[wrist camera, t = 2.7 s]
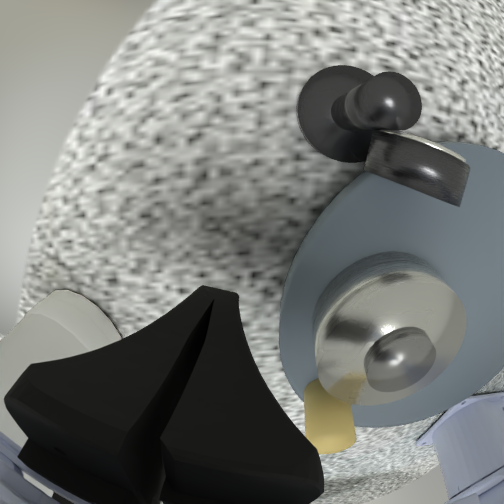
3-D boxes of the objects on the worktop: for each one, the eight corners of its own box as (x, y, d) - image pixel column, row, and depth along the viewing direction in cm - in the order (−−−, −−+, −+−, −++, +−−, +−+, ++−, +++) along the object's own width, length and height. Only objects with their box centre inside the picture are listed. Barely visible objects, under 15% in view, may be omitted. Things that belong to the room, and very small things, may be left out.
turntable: (564, 209, 9) (610, 236, 5) (456, 407, 17) (474, 451, 12) (334, 82, 10) (371, 48, 5) (248, 398, 17) (239, 464, 12)
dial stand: (412, 94, 10) (504, 78, 4) (394, 177, 12) (477, 220, 6) (306, 58, 10) (330, -9, 4) (287, 147, 12) (296, 159, 6)
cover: (460, 268, 10) (499, 305, 7) (404, 370, 13) (421, 416, 10) (338, 235, 10) (360, 276, 7) (294, 358, 13) (295, 412, 10)
